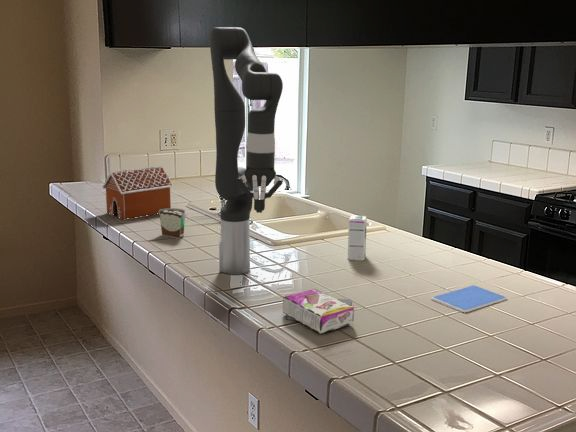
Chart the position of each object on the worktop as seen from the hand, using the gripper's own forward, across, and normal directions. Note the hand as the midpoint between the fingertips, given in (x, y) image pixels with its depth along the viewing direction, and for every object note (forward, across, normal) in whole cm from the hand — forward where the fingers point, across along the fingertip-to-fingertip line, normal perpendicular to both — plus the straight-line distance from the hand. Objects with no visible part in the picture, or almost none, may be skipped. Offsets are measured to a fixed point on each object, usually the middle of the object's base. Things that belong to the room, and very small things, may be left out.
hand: (259, 211), depth 171 cm
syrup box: (+27, -30, -42) cm, 58 cm away
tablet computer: (+25, -61, -6) cm, 66 cm away
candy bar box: (+22, -12, +7) cm, 26 cm away
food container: (+30, +38, -63) cm, 79 cm away
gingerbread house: (+32, +63, -97) cm, 120 cm away
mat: (+25, -18, +6) cm, 32 cm away
